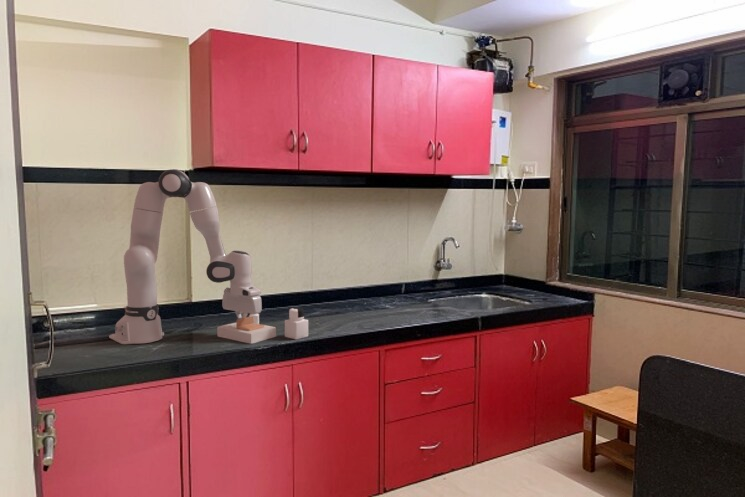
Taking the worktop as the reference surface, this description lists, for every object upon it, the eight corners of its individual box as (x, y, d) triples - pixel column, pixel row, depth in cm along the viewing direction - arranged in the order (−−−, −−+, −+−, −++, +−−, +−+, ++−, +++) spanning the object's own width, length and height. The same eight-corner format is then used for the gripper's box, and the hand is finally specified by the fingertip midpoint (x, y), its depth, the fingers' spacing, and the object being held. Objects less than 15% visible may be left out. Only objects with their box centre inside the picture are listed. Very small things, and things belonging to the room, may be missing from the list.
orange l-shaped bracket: (236, 328, 229) (236, 319, 229) (251, 324, 236) (251, 316, 236) (249, 330, 225) (249, 322, 224) (264, 326, 232) (264, 318, 231)
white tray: (217, 336, 232) (217, 326, 231) (242, 329, 243) (242, 320, 243) (251, 343, 221) (251, 333, 220) (276, 336, 232) (275, 327, 232)
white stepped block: (297, 333, 237) (296, 306, 236) (308, 336, 233) (308, 308, 232) (284, 336, 232) (284, 308, 231) (296, 339, 227) (296, 311, 226)
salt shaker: (258, 329, 245) (258, 308, 244) (249, 329, 244) (248, 308, 243) (259, 327, 249) (259, 306, 248) (250, 327, 248) (249, 306, 247)
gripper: (218, 288, 235) (219, 320, 236) (252, 292, 224) (253, 326, 225) (229, 286, 240) (230, 317, 242) (264, 290, 229) (264, 323, 230)
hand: (241, 321), depth 233 cm, fingers closed
